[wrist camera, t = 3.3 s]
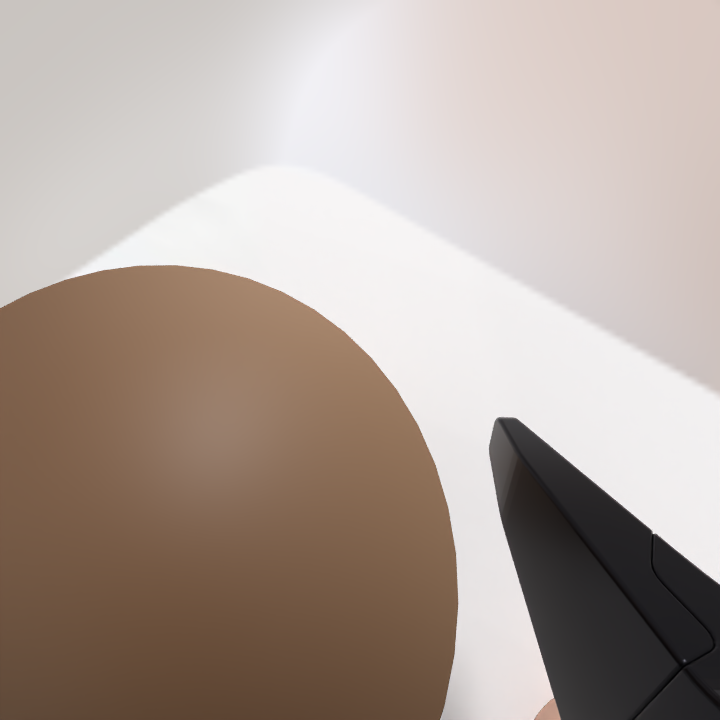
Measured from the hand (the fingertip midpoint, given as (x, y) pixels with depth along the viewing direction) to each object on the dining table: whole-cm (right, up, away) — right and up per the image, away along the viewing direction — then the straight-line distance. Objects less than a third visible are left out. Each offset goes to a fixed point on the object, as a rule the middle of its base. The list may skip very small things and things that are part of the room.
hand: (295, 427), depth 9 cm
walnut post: (0, -3, +6) cm, 7 cm away
